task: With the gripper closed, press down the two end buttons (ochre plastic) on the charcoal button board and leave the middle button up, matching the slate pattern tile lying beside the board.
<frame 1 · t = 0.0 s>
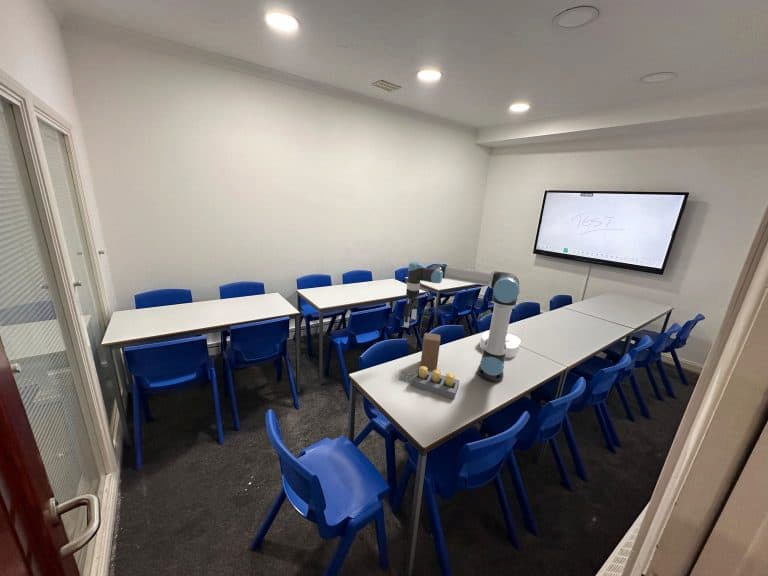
hand: (409, 322, 179), 28 cm above the table, fingers open, 13 cm apart
button board: (434, 386, 167), on the table
button 3: (423, 372, 167), point 7 cm above the table, slide at 0.0 cm
button 2: (436, 375, 165), point 7 cm above the table, slide at 0.0 cm
pattern tile: (407, 377, 173), on the table
wooden block: (428, 365, 187), on the table
button 1: (449, 379, 162), point 7 cm above the table, slide at 0.0 cm
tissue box: (499, 348, 216), on the table
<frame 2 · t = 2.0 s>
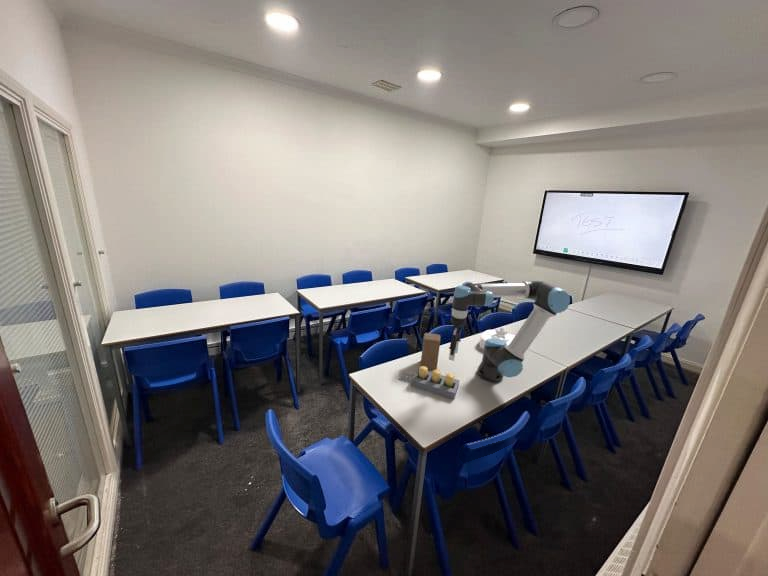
hand: (453, 356, 158), 21 cm above the table, fingers open, 8 cm apart
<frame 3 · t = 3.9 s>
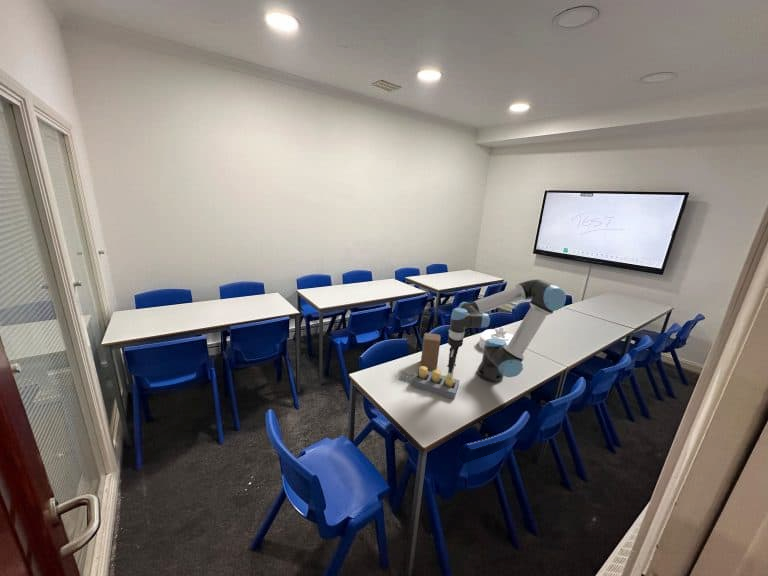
hand: (449, 376, 161), 9 cm above the table, fingers closed
button 1: (449, 381, 162), point 6 cm above the table, slide at 0.9 cm, touching gripper
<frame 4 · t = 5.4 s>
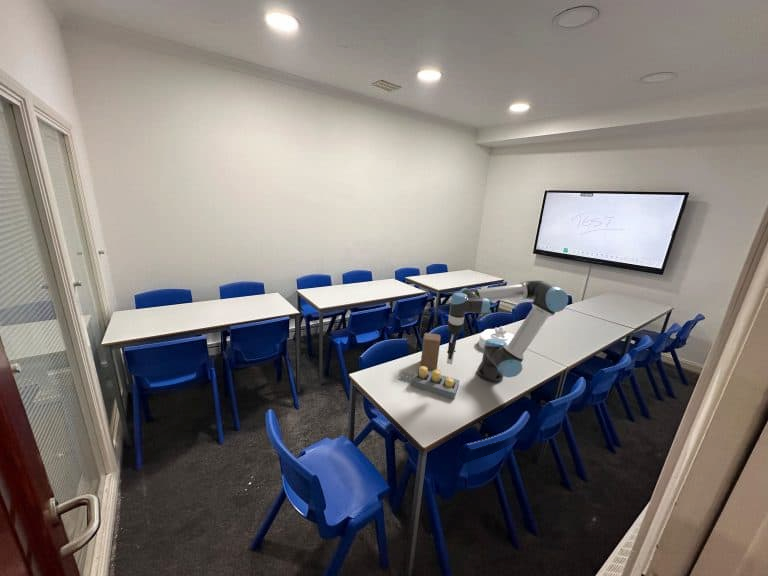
hand: (449, 363, 159), 17 cm above the table, fingers closed
button 1: (449, 383, 163), point 4 cm above the table, slide at 2.6 cm
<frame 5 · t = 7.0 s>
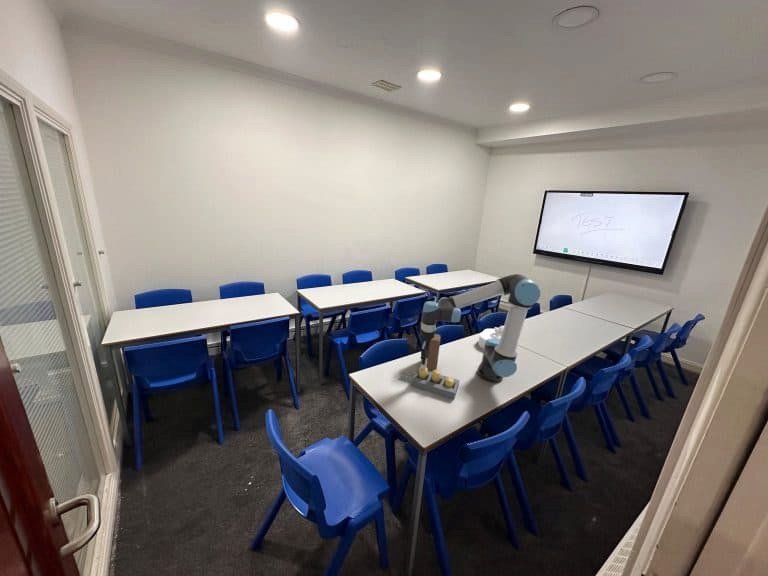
hand: (423, 368, 167), 9 cm above the table, fingers closed
button 3: (423, 372, 167), point 6 cm above the table, slide at 0.3 cm, touching gripper
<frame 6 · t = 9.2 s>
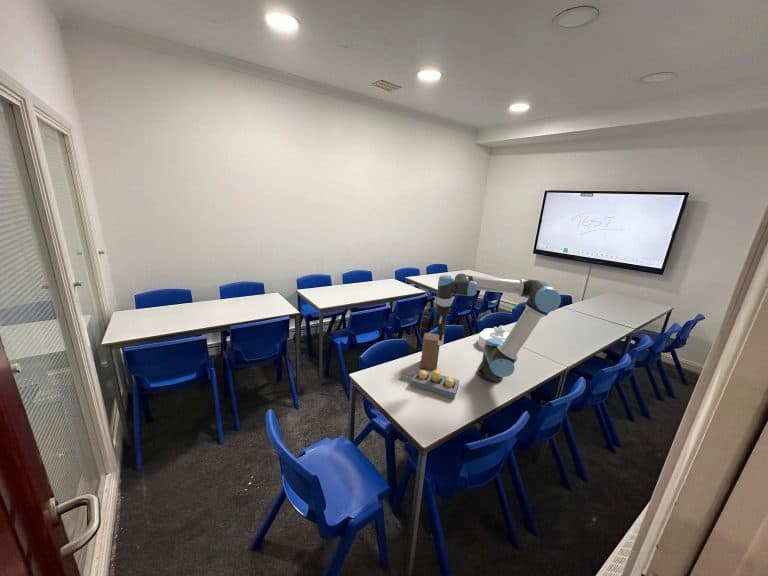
hand: (440, 344, 165), 23 cm above the table, fingers closed
button 3: (422, 376, 168), point 4 cm above the table, slide at 2.6 cm
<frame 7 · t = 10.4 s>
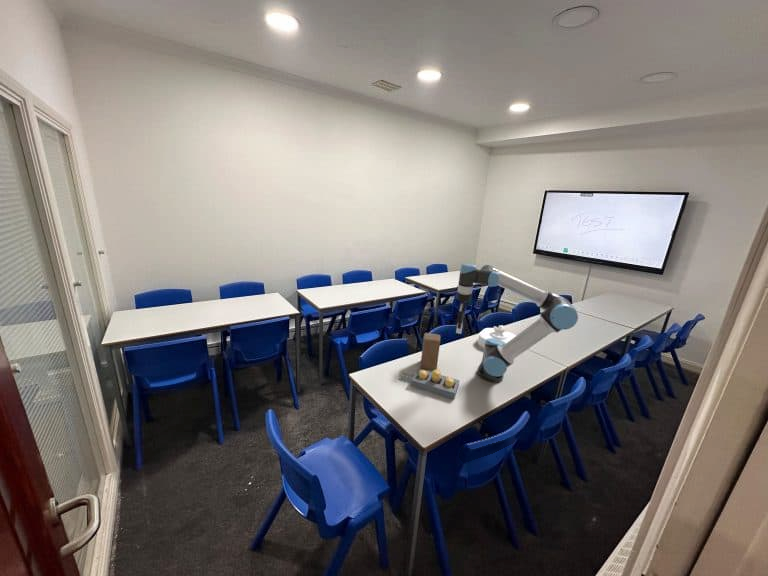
hand: (458, 332, 166), 29 cm above the table, fingers closed
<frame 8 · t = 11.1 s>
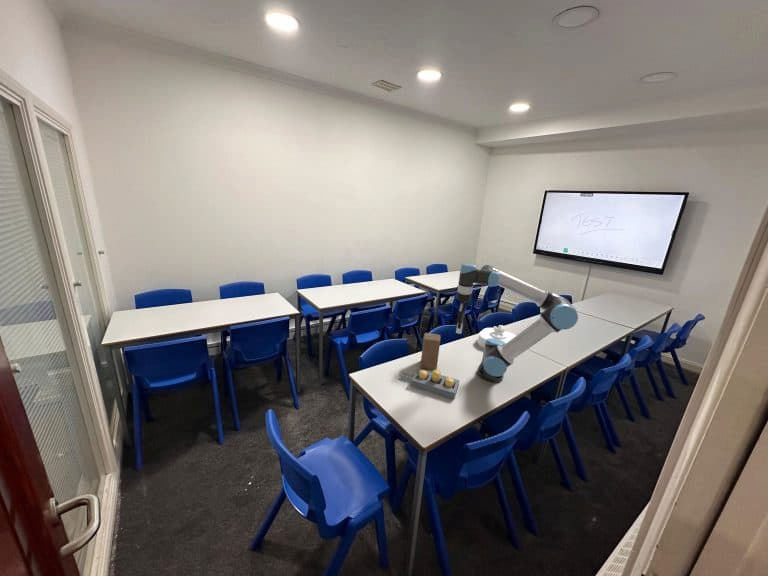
hand: (458, 332, 166), 29 cm above the table, fingers closed
at the end: button 1 slide at 2.6 cm; button 3 slide at 2.6 cm; button 2 slide at 0.0 cm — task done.
